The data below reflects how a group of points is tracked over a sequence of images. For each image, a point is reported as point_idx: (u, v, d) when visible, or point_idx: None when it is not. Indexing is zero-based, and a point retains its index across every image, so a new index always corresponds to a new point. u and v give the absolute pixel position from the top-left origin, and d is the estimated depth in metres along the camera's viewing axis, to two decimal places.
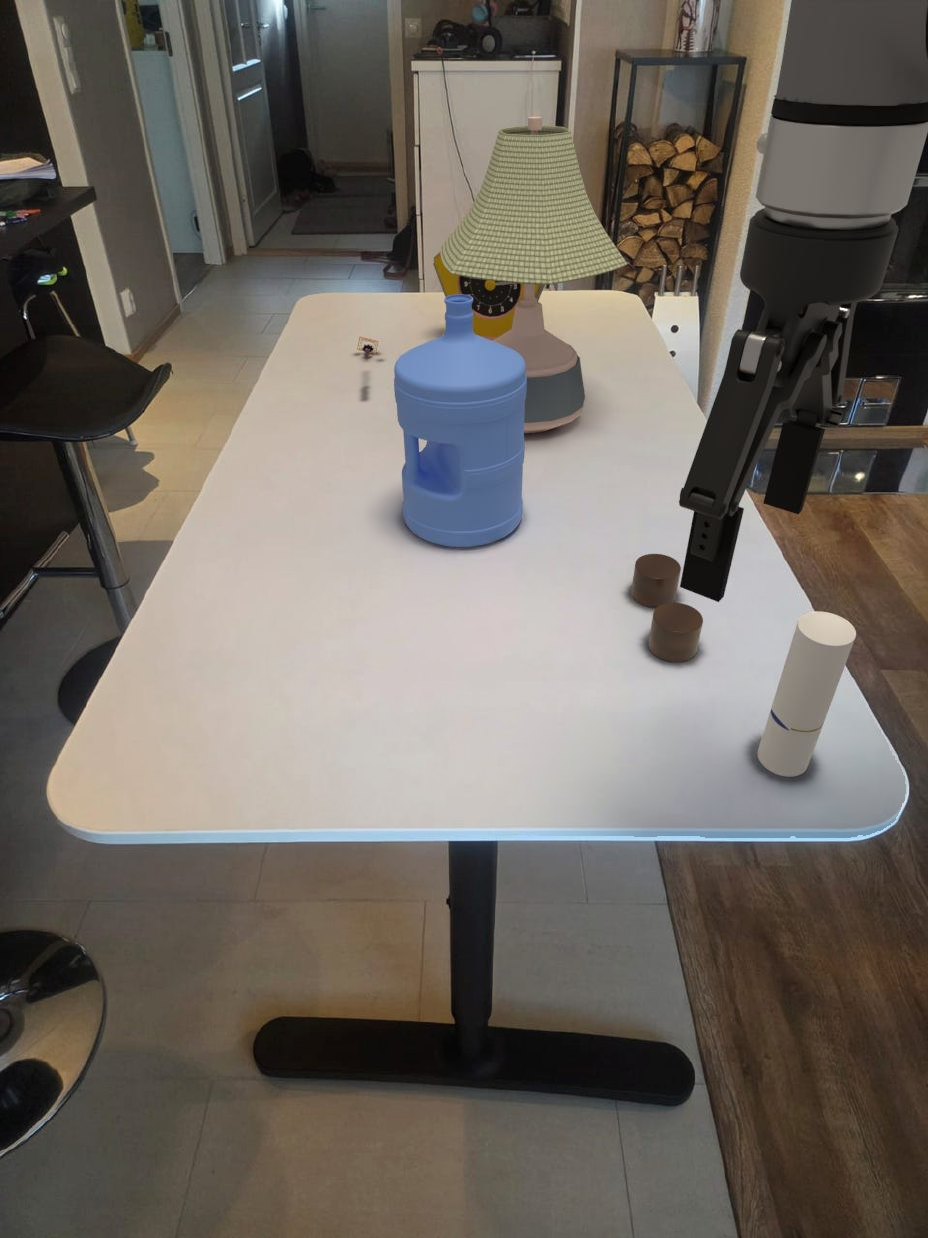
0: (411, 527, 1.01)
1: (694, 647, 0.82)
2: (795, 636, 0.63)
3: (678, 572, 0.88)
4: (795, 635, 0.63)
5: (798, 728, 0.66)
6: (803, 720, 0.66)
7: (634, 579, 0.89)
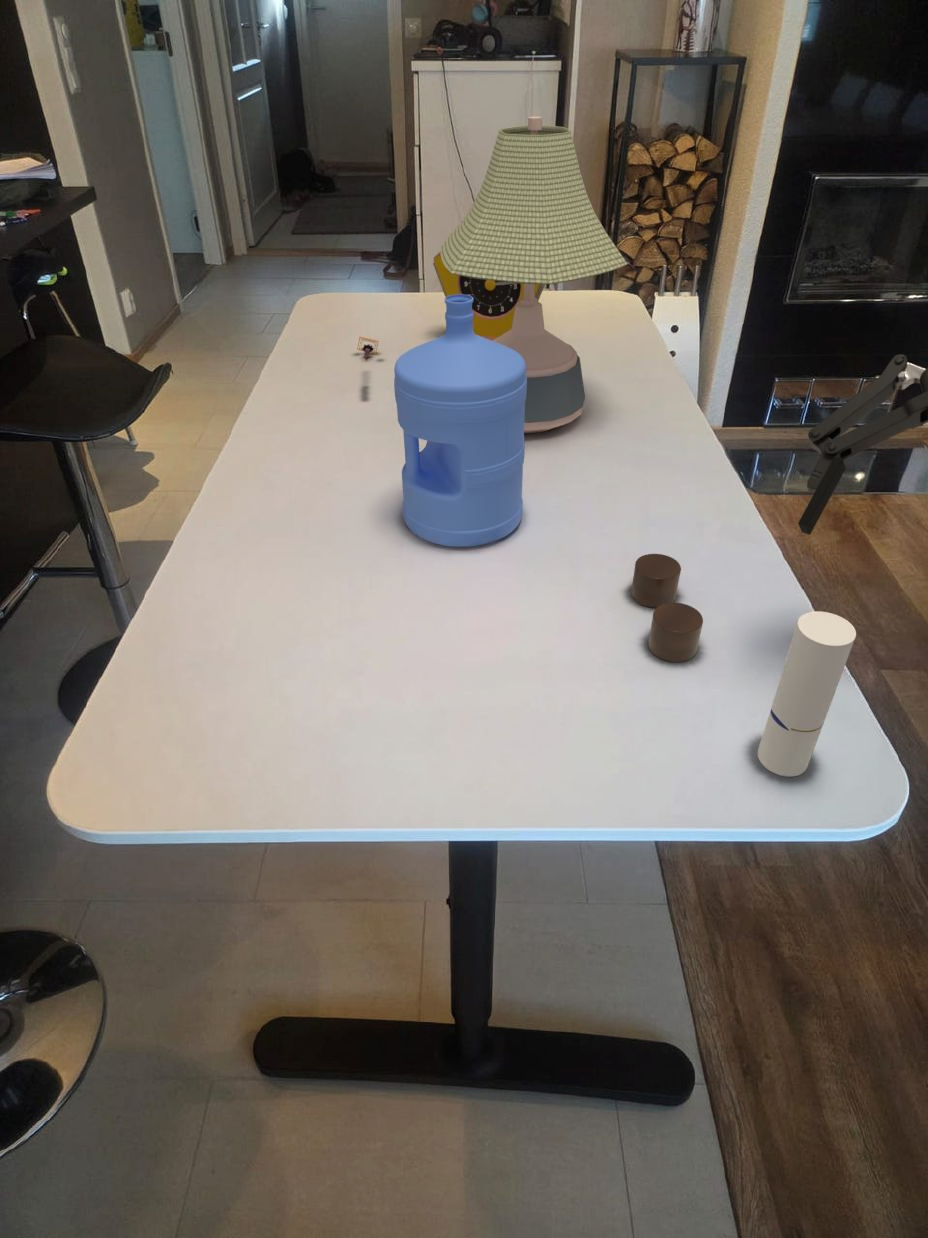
0: (411, 527, 1.01)
1: (694, 647, 0.82)
2: (795, 636, 0.63)
3: (678, 572, 0.88)
4: (795, 635, 0.63)
5: (798, 728, 0.66)
6: (803, 720, 0.66)
7: (634, 579, 0.89)
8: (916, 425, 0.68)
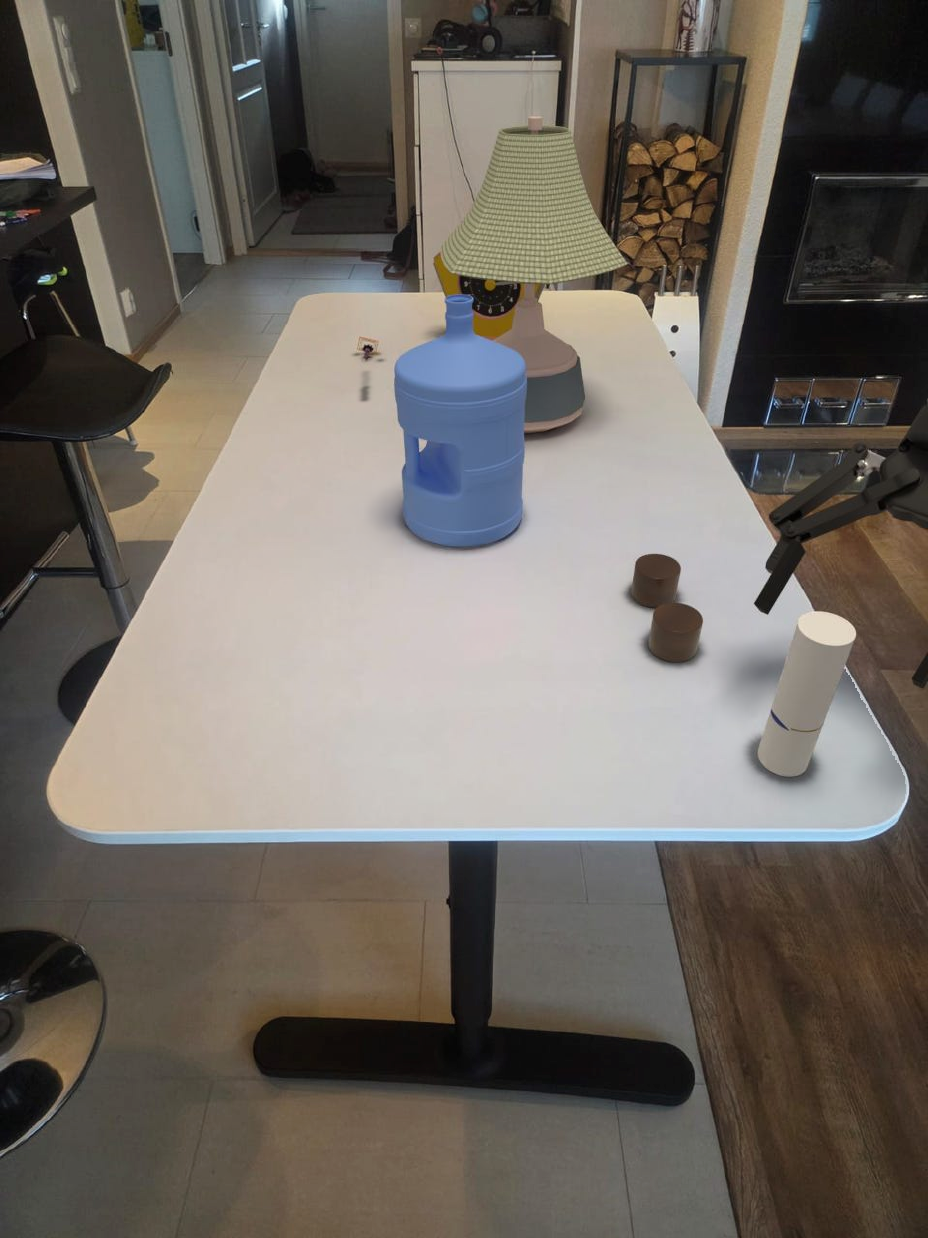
0: (411, 527, 1.01)
1: (694, 647, 0.82)
2: (795, 636, 0.63)
3: (678, 572, 0.88)
4: (795, 635, 0.63)
5: (798, 728, 0.66)
6: (803, 720, 0.66)
7: (634, 579, 0.89)
8: (876, 512, 0.69)
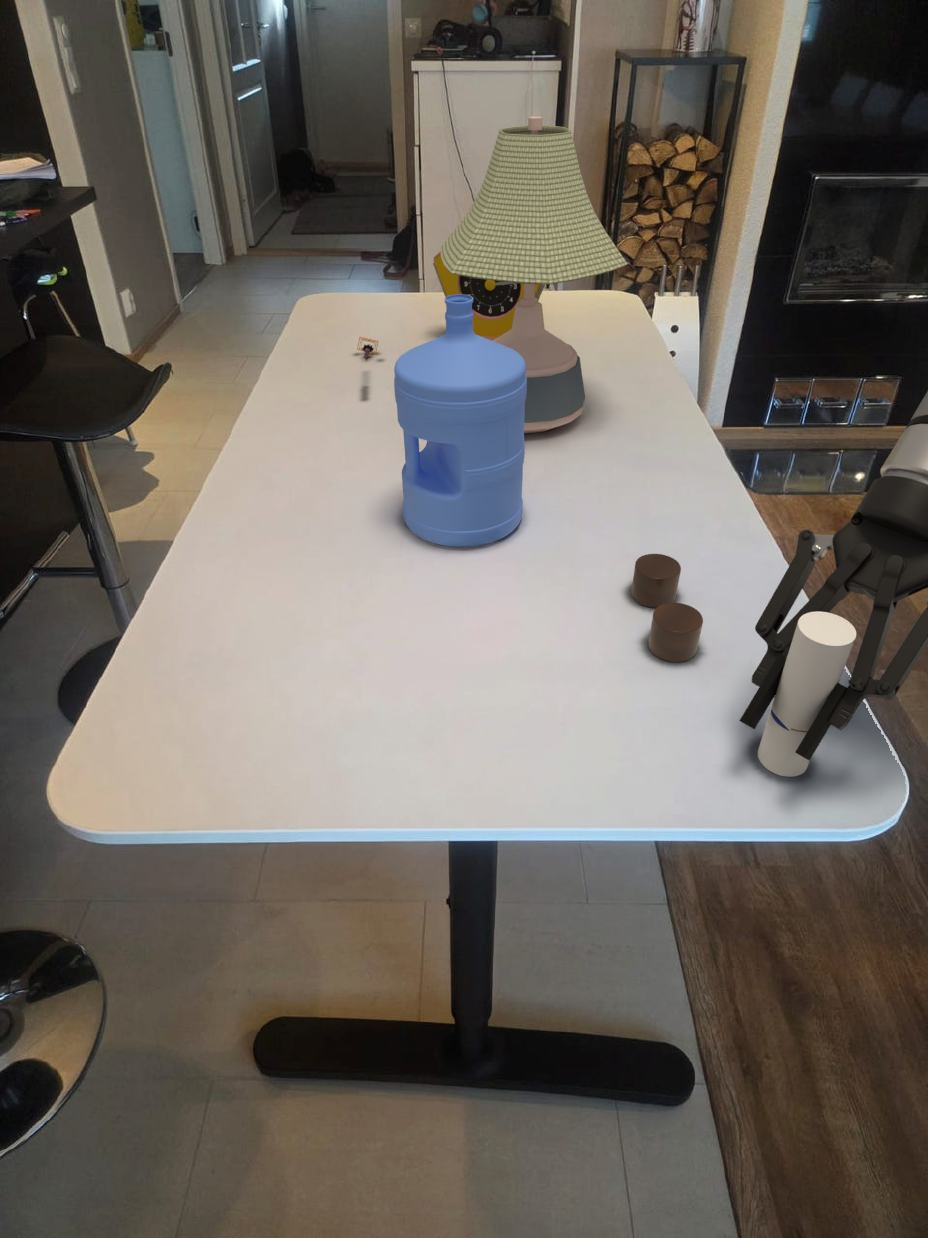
0: (411, 527, 1.01)
1: (694, 647, 0.82)
2: (795, 636, 0.63)
3: (678, 572, 0.88)
4: (795, 635, 0.63)
5: (798, 728, 0.66)
6: (803, 720, 0.66)
7: (634, 579, 0.89)
8: (844, 596, 0.67)
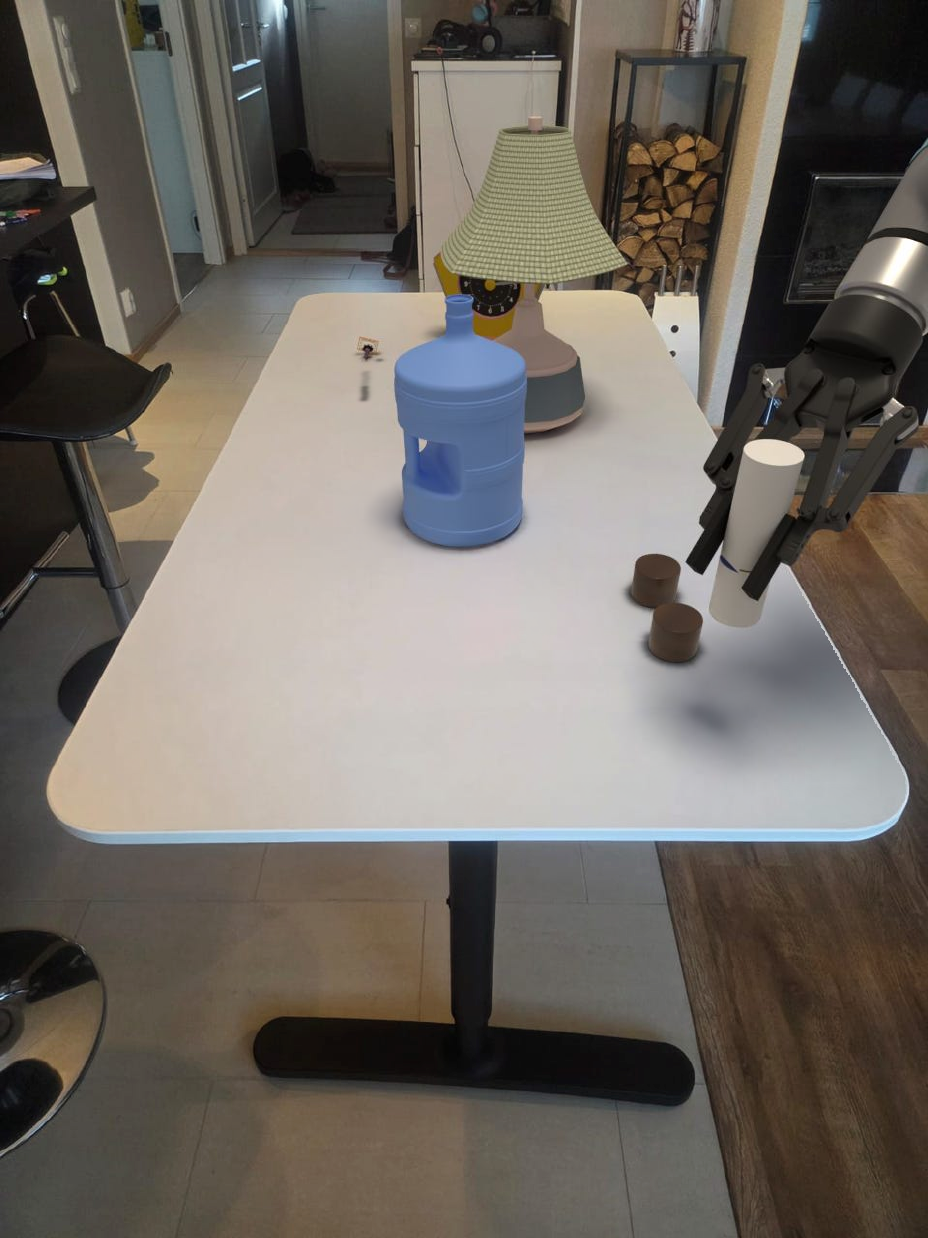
0: (411, 527, 1.01)
1: (694, 647, 0.82)
2: (741, 463, 0.60)
3: (678, 572, 0.88)
4: (741, 462, 0.60)
5: (747, 568, 0.63)
6: (752, 558, 0.62)
7: (634, 579, 0.89)
8: (797, 431, 0.64)
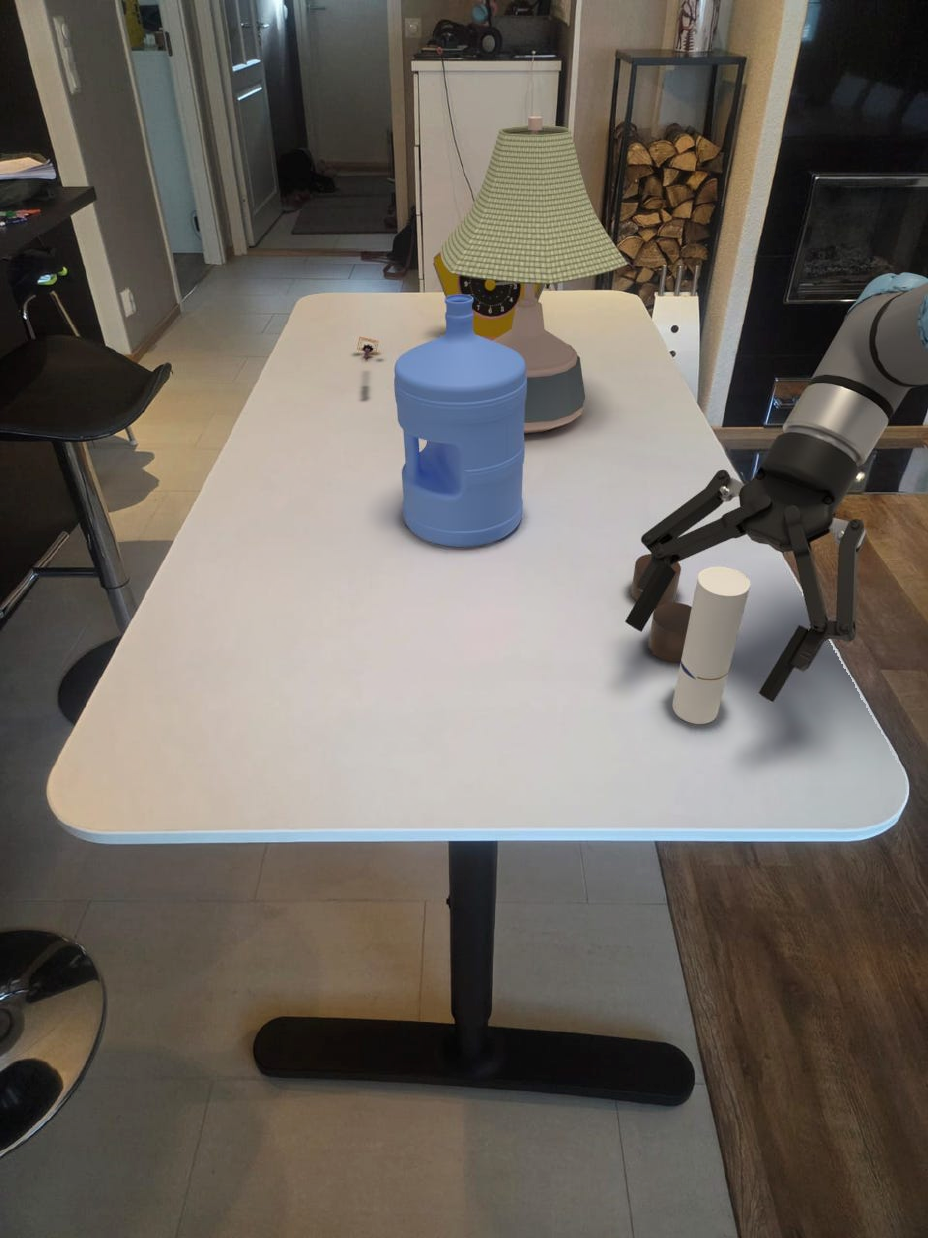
0: (411, 527, 1.01)
1: None
2: (696, 589, 0.68)
3: (678, 572, 0.88)
4: (696, 588, 0.68)
5: (703, 676, 0.71)
6: (707, 668, 0.71)
7: (634, 579, 0.89)
8: (738, 535, 0.73)
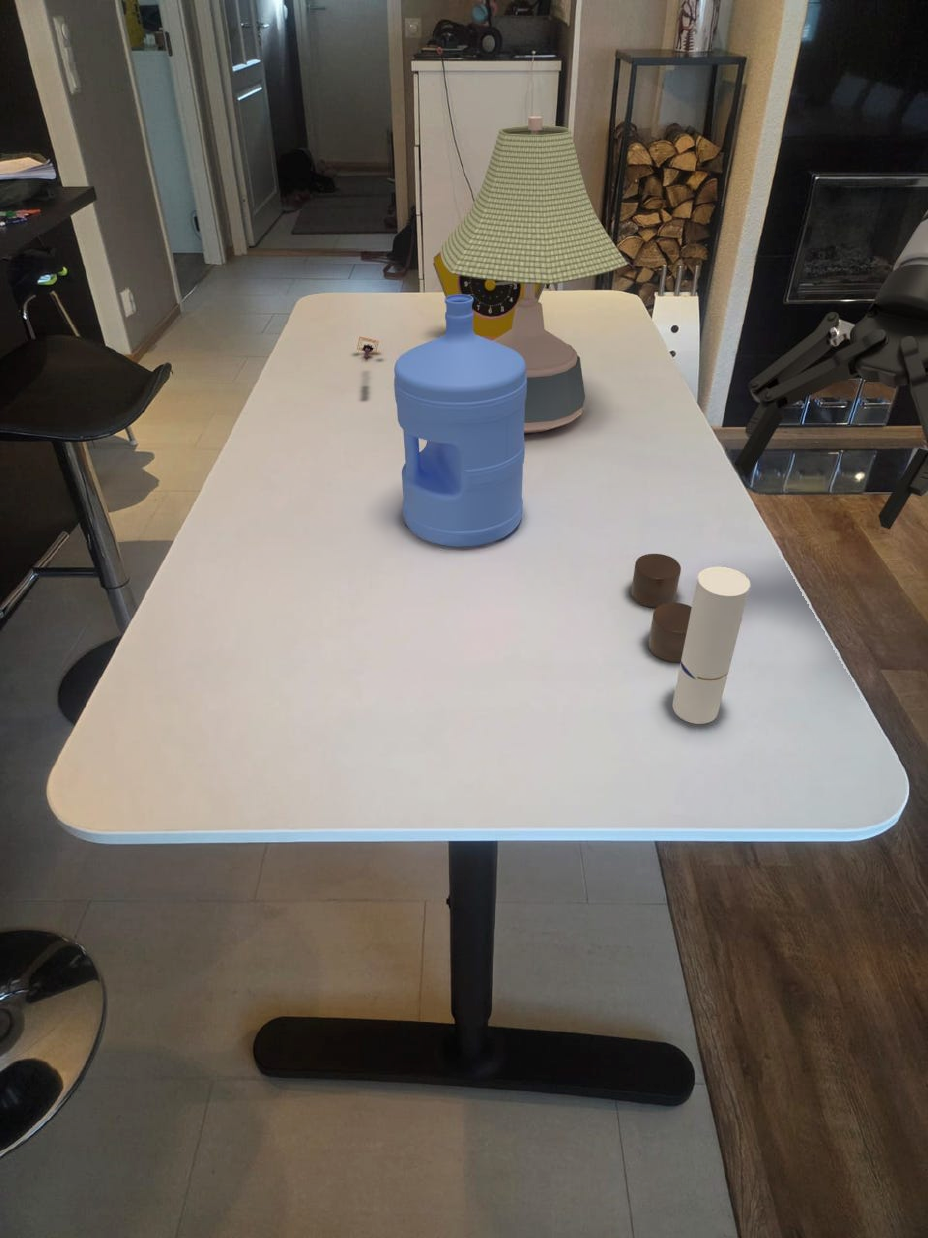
0: (411, 527, 1.01)
1: None
2: (696, 589, 0.68)
3: (678, 572, 0.88)
4: (696, 588, 0.68)
5: (703, 676, 0.71)
6: (707, 668, 0.71)
7: (634, 579, 0.89)
8: (847, 377, 0.74)
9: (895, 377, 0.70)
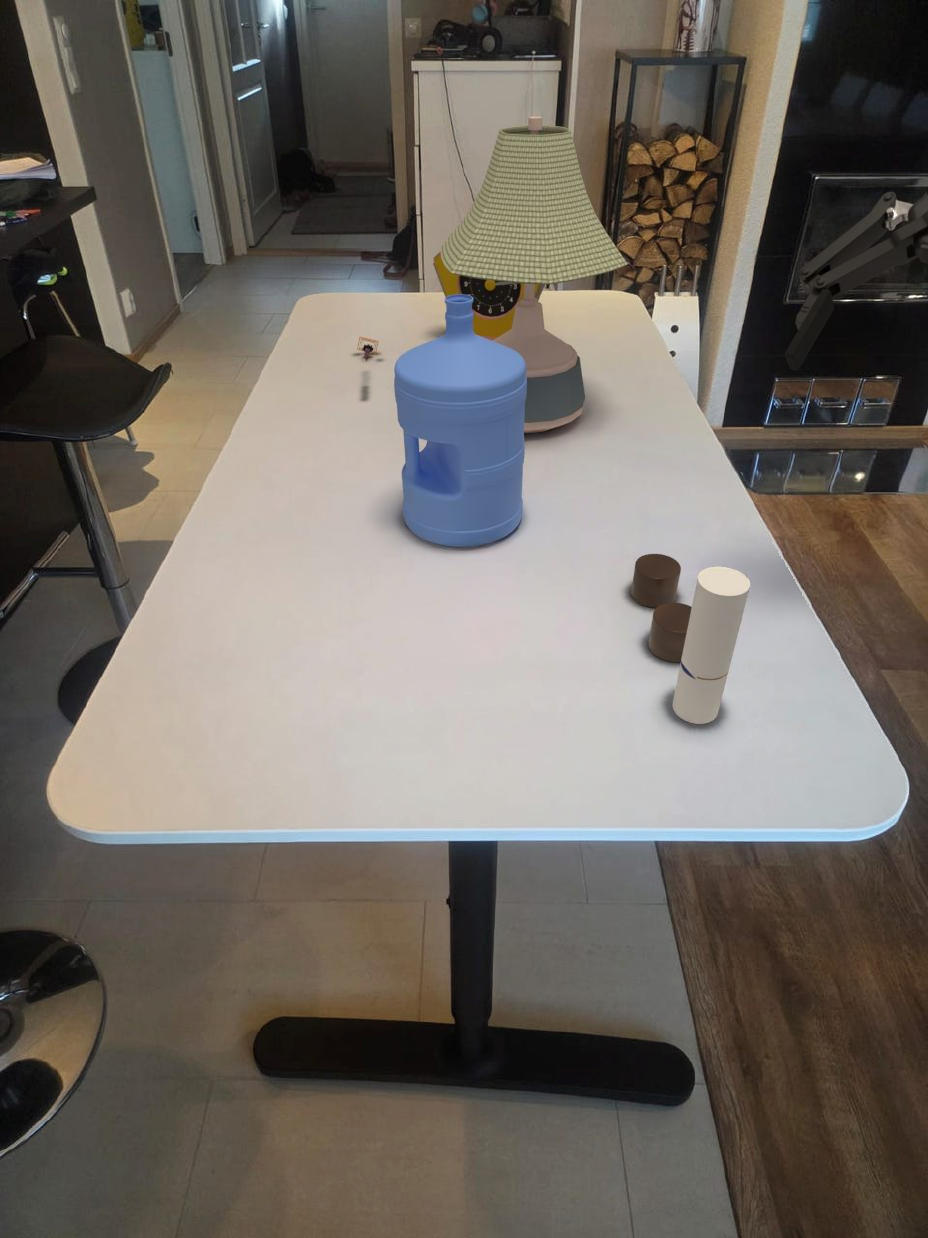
0: (411, 527, 1.01)
1: None
2: (696, 589, 0.68)
3: (678, 572, 0.88)
4: (696, 588, 0.68)
5: (703, 676, 0.71)
6: (707, 668, 0.71)
7: (634, 579, 0.89)
8: (904, 261, 0.70)
9: None
